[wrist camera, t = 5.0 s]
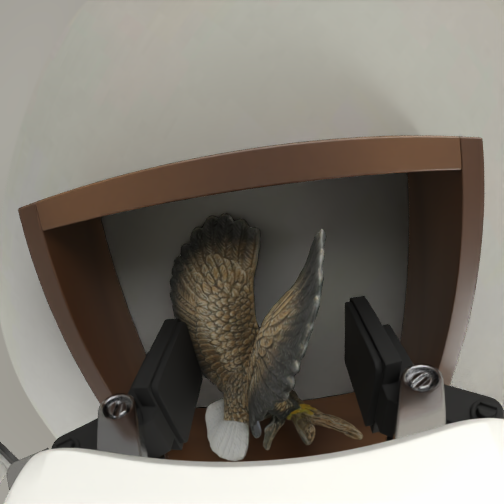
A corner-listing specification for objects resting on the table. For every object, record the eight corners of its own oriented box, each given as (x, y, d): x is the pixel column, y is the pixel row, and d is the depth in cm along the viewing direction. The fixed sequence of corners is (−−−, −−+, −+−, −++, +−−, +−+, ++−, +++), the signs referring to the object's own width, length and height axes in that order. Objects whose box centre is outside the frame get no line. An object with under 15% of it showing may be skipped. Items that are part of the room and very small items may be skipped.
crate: (161, 416, 16) (145, 466, 12) (75, 188, 11) (17, 209, 8) (405, 390, 15) (428, 438, 11) (423, 135, 10) (482, 137, 6)
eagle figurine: (388, 363, 13) (363, 186, 8) (333, 503, 8) (243, 418, 4) (259, 343, 17) (187, 208, 13) (191, 444, 13) (62, 322, 8)
